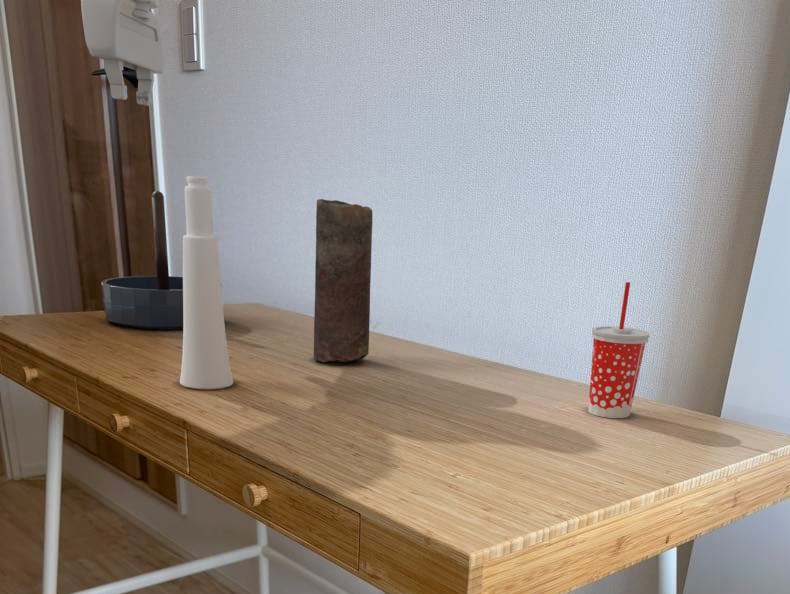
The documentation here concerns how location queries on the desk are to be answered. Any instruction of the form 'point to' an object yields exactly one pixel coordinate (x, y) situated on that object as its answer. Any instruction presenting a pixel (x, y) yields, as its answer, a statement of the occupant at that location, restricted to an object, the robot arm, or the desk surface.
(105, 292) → the bowl
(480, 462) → the desk surface
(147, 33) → the robot arm
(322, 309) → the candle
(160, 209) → the ladle
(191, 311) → the cosmetic bottle
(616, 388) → the beverage cup
